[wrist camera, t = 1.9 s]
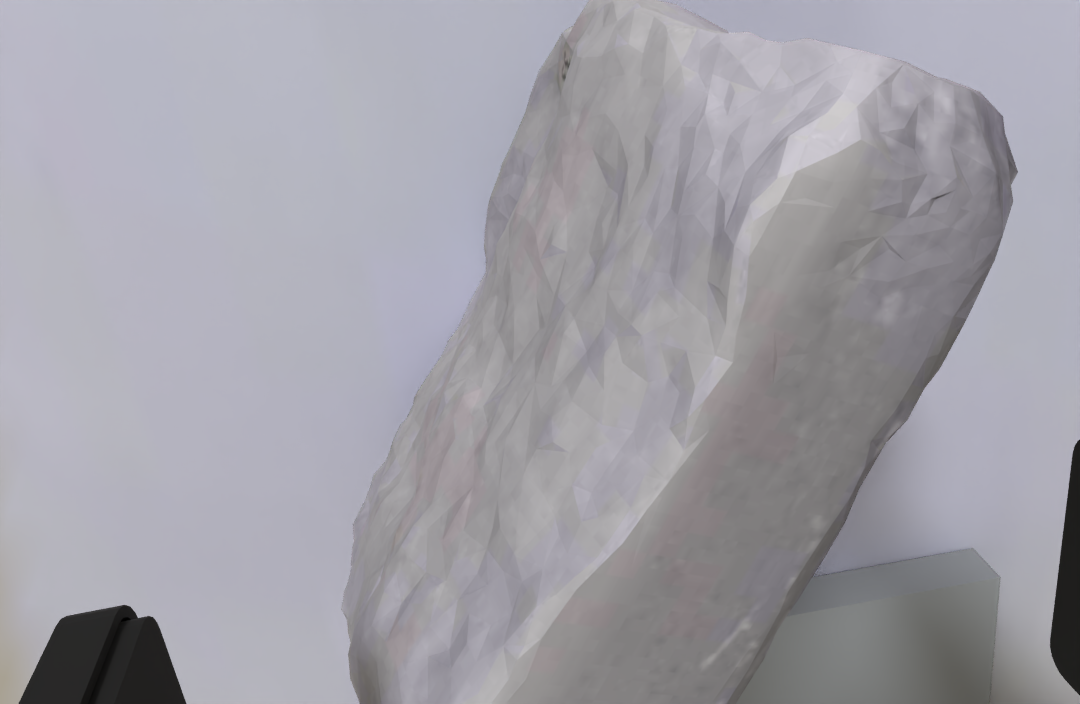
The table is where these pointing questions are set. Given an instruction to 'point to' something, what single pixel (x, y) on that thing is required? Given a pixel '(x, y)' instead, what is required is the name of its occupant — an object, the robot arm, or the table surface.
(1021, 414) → the table surface
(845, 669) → the slate mat
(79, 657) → the robot arm
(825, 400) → the stone block
